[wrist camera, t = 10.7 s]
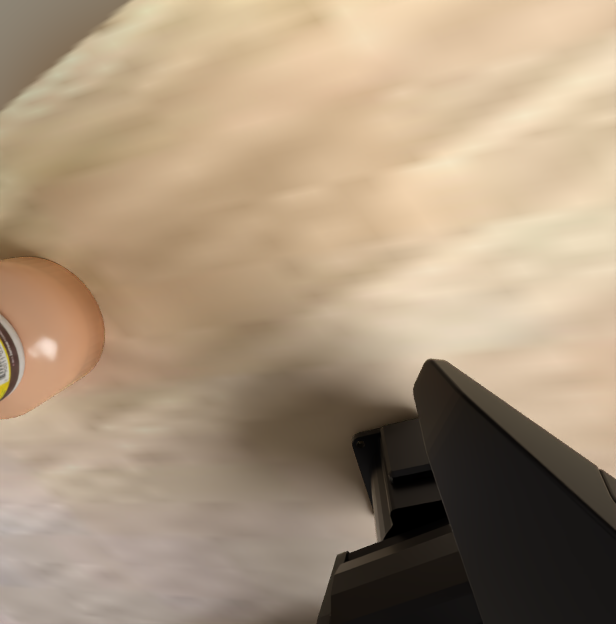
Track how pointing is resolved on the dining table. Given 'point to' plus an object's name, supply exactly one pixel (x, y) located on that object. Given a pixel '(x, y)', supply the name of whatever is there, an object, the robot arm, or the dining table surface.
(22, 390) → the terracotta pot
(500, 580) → the robot arm
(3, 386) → the supplement bottle
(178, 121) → the dining table surface
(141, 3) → the dining table surface
